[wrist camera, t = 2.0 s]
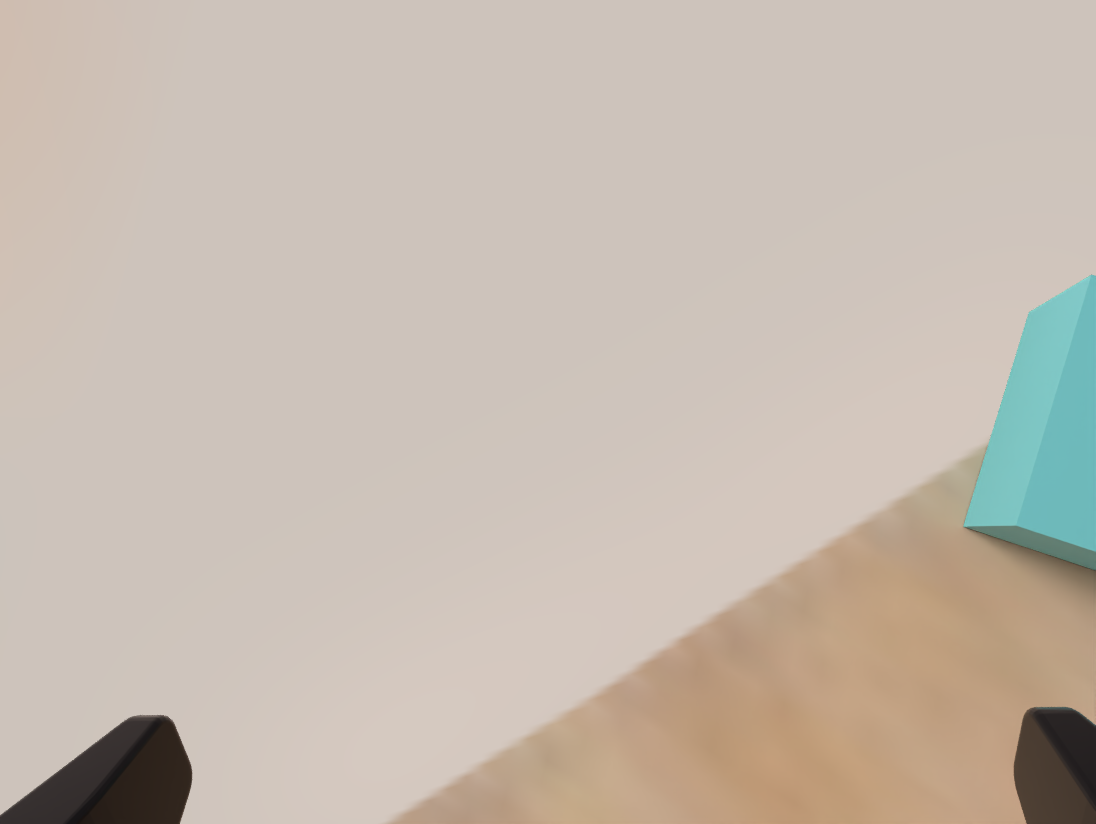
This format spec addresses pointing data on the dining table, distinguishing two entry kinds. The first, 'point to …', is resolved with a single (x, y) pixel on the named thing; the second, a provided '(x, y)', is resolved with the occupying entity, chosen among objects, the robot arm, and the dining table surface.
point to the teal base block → (1046, 436)
